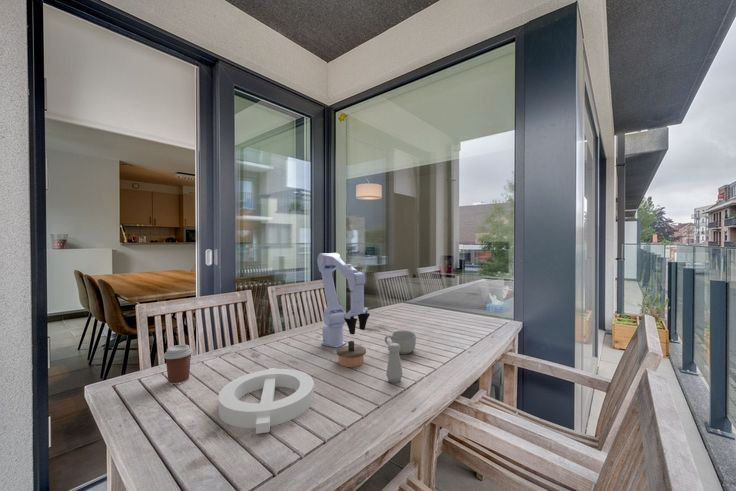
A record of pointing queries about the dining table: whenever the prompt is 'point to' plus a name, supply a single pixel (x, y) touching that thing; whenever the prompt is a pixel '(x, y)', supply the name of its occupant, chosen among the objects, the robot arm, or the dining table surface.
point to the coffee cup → (178, 363)
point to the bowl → (351, 361)
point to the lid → (351, 350)
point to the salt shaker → (394, 363)
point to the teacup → (403, 341)
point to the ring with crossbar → (265, 399)
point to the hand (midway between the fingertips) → (357, 331)
